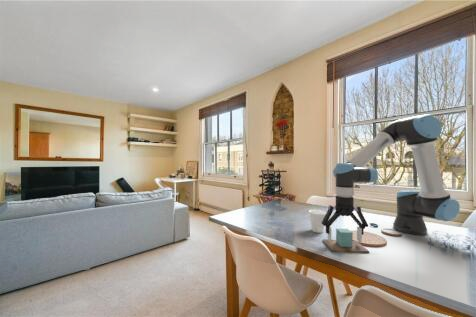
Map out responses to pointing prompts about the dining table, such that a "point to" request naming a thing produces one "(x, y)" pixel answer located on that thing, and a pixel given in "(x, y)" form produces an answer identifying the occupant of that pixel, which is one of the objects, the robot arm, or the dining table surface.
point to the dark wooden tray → (337, 248)
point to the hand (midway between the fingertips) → (344, 240)
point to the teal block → (344, 237)
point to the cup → (317, 220)
